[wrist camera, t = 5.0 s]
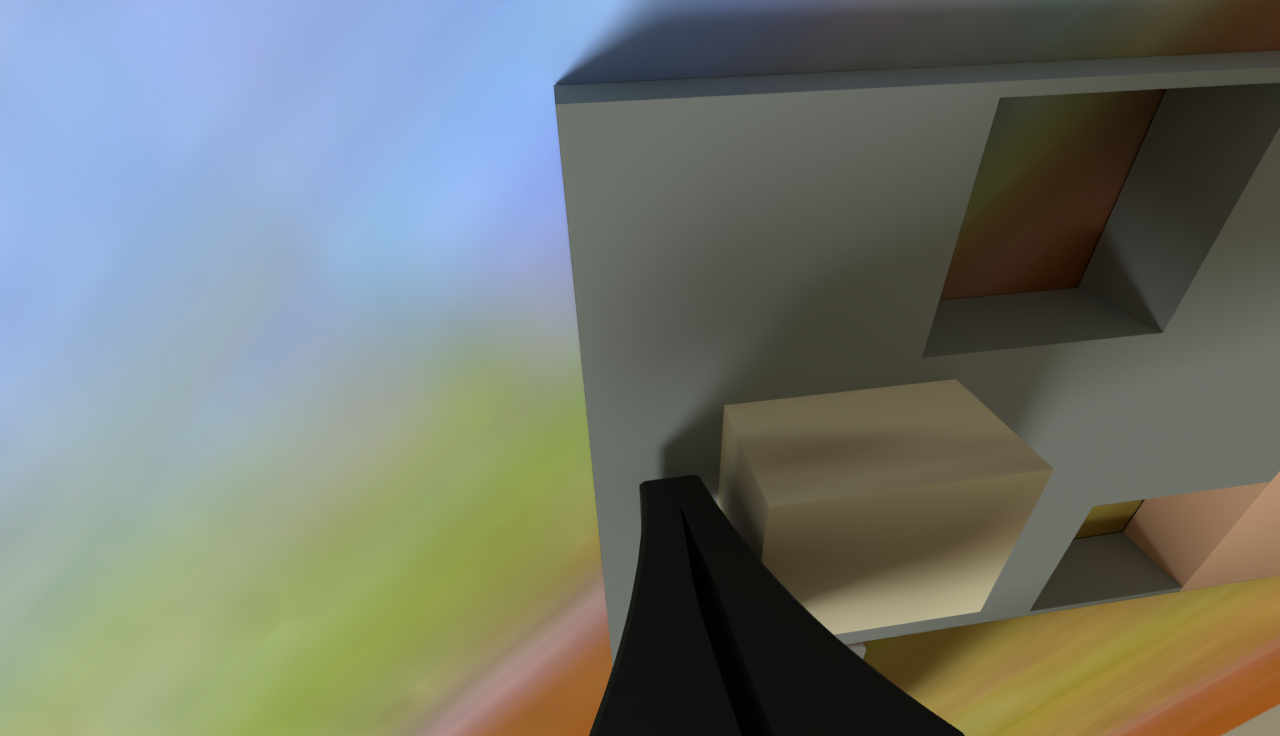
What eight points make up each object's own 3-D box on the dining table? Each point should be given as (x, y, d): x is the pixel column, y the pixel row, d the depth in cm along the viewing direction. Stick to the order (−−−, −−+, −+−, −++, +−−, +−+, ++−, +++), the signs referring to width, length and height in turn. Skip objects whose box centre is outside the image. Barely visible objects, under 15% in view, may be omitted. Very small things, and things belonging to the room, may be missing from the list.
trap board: (1262, 515, 23) (1384, 602, 19) (607, 611, 20) (619, 731, 17) (1681, 30, 13) (2056, 39, 10) (553, 85, 11) (557, 121, 7)
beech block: (909, 512, 15) (980, 611, 13) (715, 539, 15) (749, 648, 12) (955, 378, 13) (1054, 469, 10) (724, 405, 12) (769, 507, 10)
